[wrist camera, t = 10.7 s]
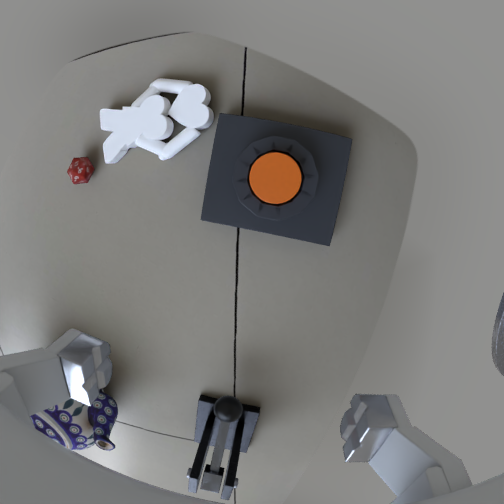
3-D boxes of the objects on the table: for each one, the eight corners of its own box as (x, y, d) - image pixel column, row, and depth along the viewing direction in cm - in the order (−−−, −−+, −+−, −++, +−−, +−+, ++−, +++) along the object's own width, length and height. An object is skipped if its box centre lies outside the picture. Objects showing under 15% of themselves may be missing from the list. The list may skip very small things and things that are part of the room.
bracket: (200, 394, 35) (175, 462, 23) (260, 407, 34) (251, 479, 23) (195, 436, 37) (176, 495, 26) (247, 447, 37) (237, 509, 26)
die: (75, 169, 28) (59, 169, 26) (91, 152, 28) (75, 151, 25) (86, 188, 29) (70, 190, 26) (102, 171, 28) (86, 172, 25)
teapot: (51, 400, 40) (12, 445, 26) (20, 335, 37) (-32, 376, 23) (159, 429, 38) (126, 499, 23) (131, 354, 34) (74, 430, 20)
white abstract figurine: (219, 147, 26) (211, 145, 24) (118, 174, 29) (106, 175, 27) (206, 65, 24) (198, 59, 22) (110, 102, 27) (98, 99, 25)
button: (304, 159, 23) (306, 158, 21) (294, 206, 24) (295, 208, 22) (256, 150, 23) (254, 148, 21) (247, 196, 24) (245, 198, 22)
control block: (347, 141, 25) (357, 136, 21) (326, 241, 28) (333, 251, 24) (224, 117, 26) (215, 108, 22) (206, 216, 28) (195, 223, 25)
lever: (218, 390, 31) (215, 396, 28) (245, 396, 31) (245, 402, 27) (199, 478, 27) (195, 489, 24) (224, 483, 27) (222, 495, 24)
